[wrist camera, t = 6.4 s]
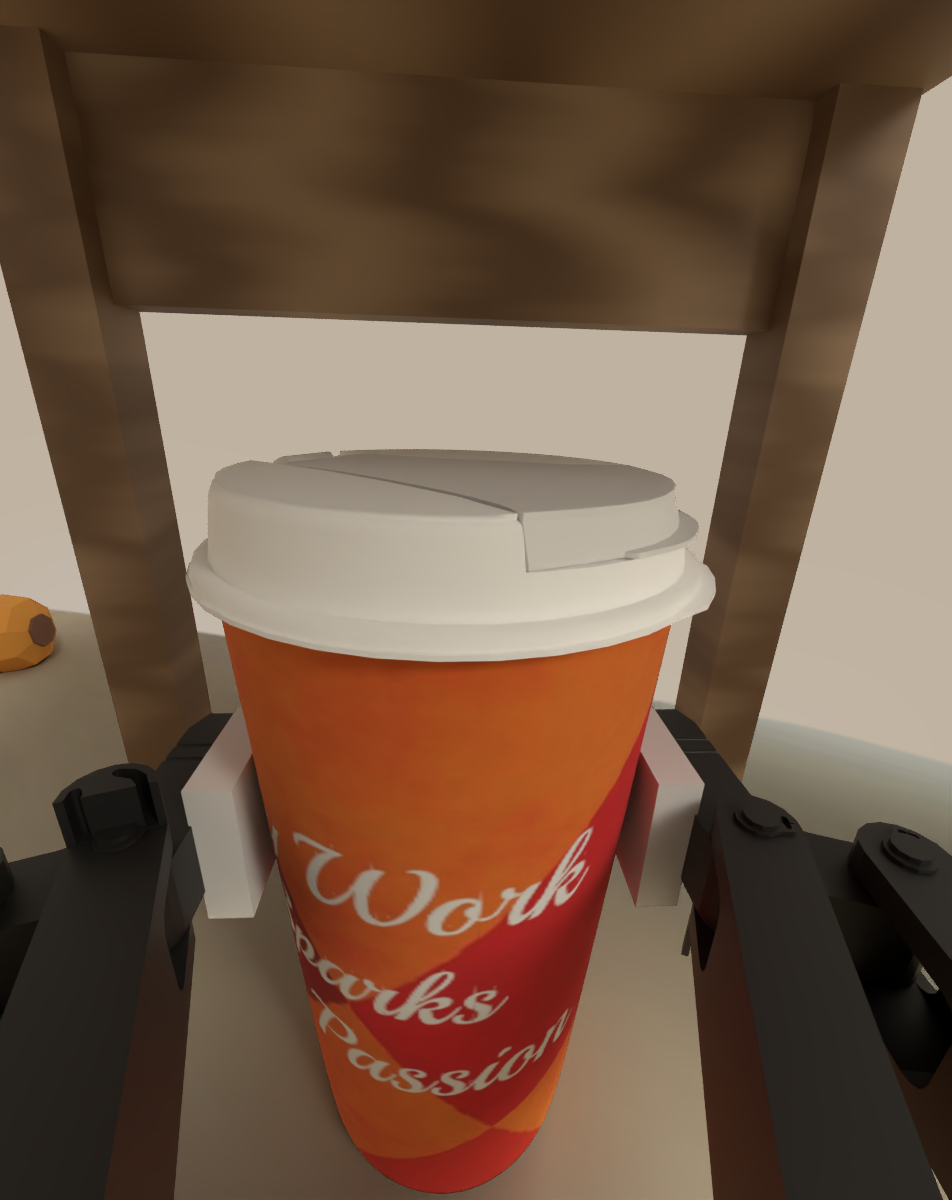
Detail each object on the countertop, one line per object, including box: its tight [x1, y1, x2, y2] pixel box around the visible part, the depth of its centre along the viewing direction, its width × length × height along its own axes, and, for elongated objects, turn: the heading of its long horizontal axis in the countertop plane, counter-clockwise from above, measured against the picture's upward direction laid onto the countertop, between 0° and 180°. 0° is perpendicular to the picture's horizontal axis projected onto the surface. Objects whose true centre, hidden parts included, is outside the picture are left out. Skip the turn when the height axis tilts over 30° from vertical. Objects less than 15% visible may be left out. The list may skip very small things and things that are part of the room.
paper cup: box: [185, 449, 716, 1194], centre depth 11 cm, size 8×8×14 cm
